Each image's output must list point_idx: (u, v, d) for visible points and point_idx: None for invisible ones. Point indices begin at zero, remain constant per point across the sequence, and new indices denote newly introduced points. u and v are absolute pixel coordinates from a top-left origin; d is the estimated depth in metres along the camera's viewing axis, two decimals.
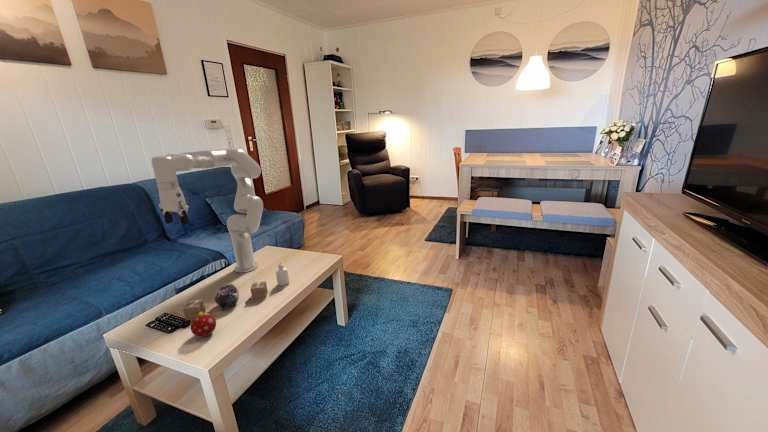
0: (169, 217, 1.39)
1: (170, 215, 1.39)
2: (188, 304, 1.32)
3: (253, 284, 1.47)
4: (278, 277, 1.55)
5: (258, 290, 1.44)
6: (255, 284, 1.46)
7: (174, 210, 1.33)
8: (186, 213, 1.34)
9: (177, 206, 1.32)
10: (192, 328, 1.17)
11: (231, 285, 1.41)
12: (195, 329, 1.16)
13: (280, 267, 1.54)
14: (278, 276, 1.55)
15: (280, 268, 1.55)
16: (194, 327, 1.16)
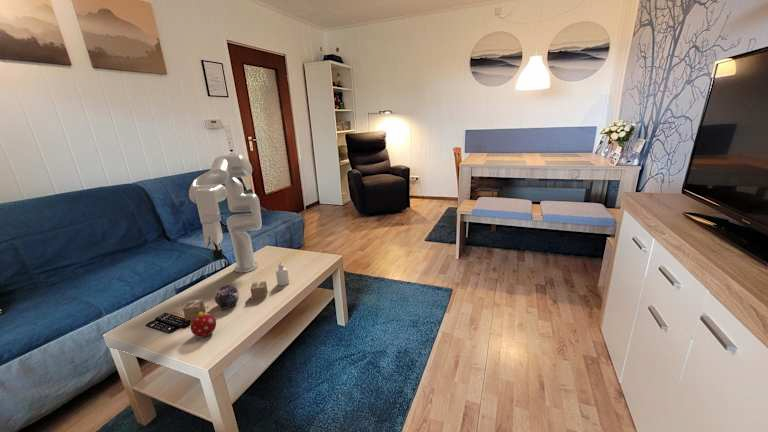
0: None
1: None
2: (188, 304, 1.32)
3: (253, 284, 1.47)
4: (278, 277, 1.55)
5: (258, 290, 1.44)
6: (255, 284, 1.46)
7: (222, 238, 1.36)
8: None
9: None
10: (192, 328, 1.17)
11: (231, 285, 1.41)
12: (195, 329, 1.16)
13: (280, 267, 1.54)
14: (278, 276, 1.55)
15: (280, 268, 1.55)
16: (194, 327, 1.16)
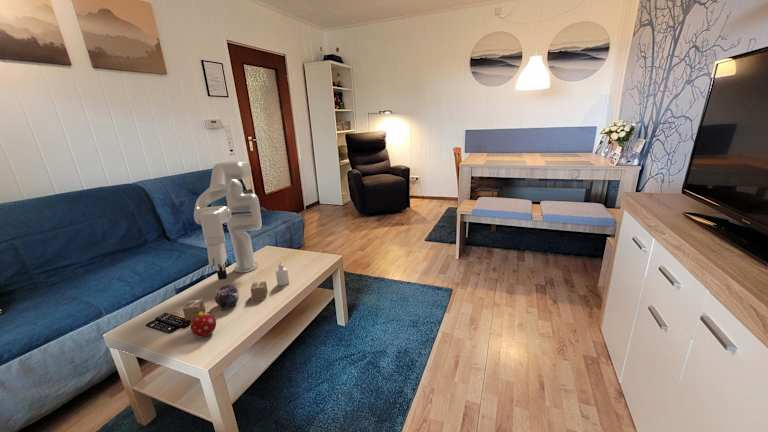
0: None
1: None
2: (188, 304, 1.32)
3: (253, 284, 1.47)
4: (278, 277, 1.55)
5: (258, 290, 1.44)
6: (255, 284, 1.46)
7: (226, 258, 1.38)
8: None
9: None
10: (192, 328, 1.17)
11: (231, 285, 1.41)
12: (195, 329, 1.16)
13: (280, 267, 1.54)
14: (278, 276, 1.55)
15: (280, 268, 1.55)
16: (194, 327, 1.16)
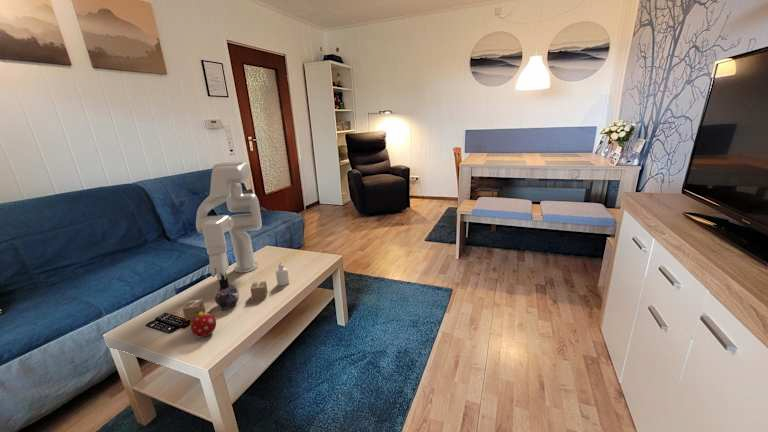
0: None
1: None
2: (188, 304, 1.32)
3: (253, 284, 1.47)
4: (278, 277, 1.55)
5: (258, 290, 1.44)
6: (255, 284, 1.46)
7: (228, 267, 1.39)
8: None
9: None
10: (192, 328, 1.17)
11: (231, 285, 1.41)
12: (195, 329, 1.16)
13: (280, 267, 1.54)
14: (278, 276, 1.55)
15: (280, 268, 1.55)
16: (194, 327, 1.16)
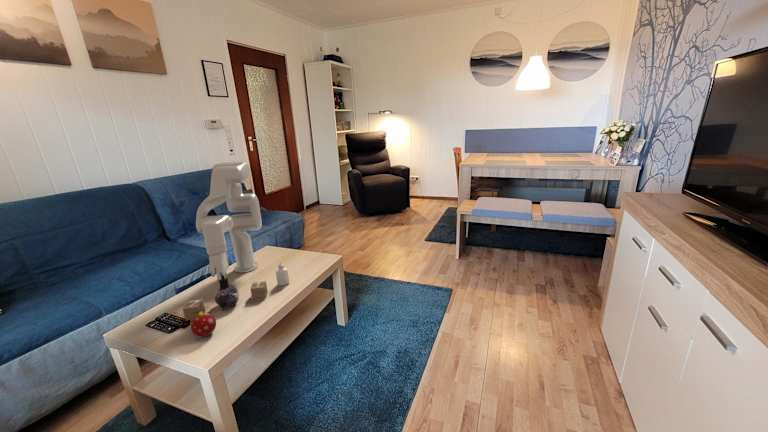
0: None
1: None
2: (188, 304, 1.32)
3: (253, 284, 1.47)
4: (278, 277, 1.55)
5: (258, 290, 1.44)
6: (255, 284, 1.46)
7: (228, 266, 1.39)
8: None
9: None
10: (192, 328, 1.17)
11: (231, 285, 1.40)
12: (195, 329, 1.16)
13: (280, 267, 1.54)
14: (278, 276, 1.55)
15: (280, 268, 1.55)
16: (194, 327, 1.16)
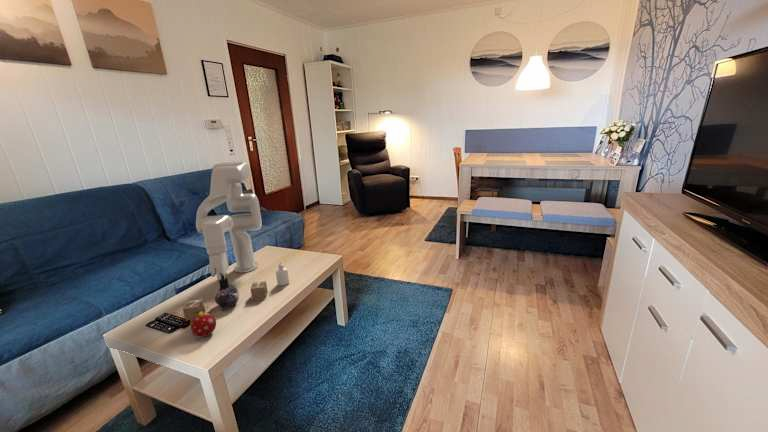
0: None
1: None
2: (188, 304, 1.32)
3: (253, 284, 1.47)
4: (278, 277, 1.55)
5: (258, 290, 1.44)
6: (255, 284, 1.46)
7: (228, 266, 1.39)
8: None
9: None
10: (192, 328, 1.17)
11: (231, 285, 1.40)
12: (195, 329, 1.16)
13: (280, 267, 1.54)
14: (278, 276, 1.55)
15: (280, 268, 1.55)
16: (194, 327, 1.16)
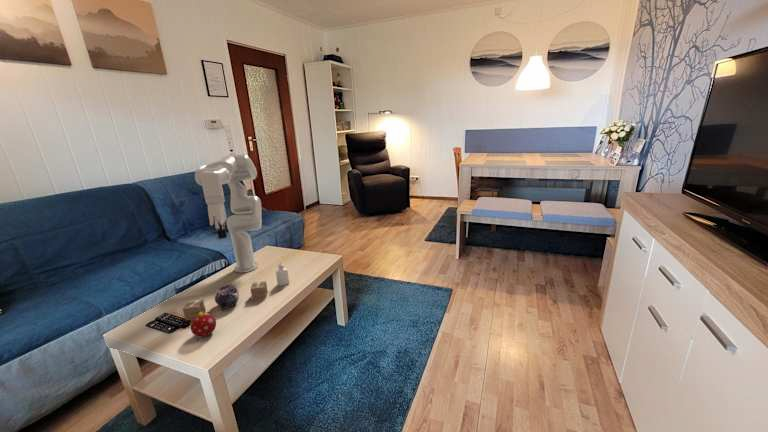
0: None
1: None
2: (188, 304, 1.32)
3: (253, 284, 1.47)
4: (278, 277, 1.55)
5: (258, 290, 1.44)
6: (255, 284, 1.46)
7: (226, 218, 1.44)
8: None
9: None
10: (192, 328, 1.17)
11: (231, 285, 1.41)
12: (195, 329, 1.16)
13: (280, 267, 1.54)
14: (278, 276, 1.55)
15: (280, 268, 1.55)
16: (194, 327, 1.16)
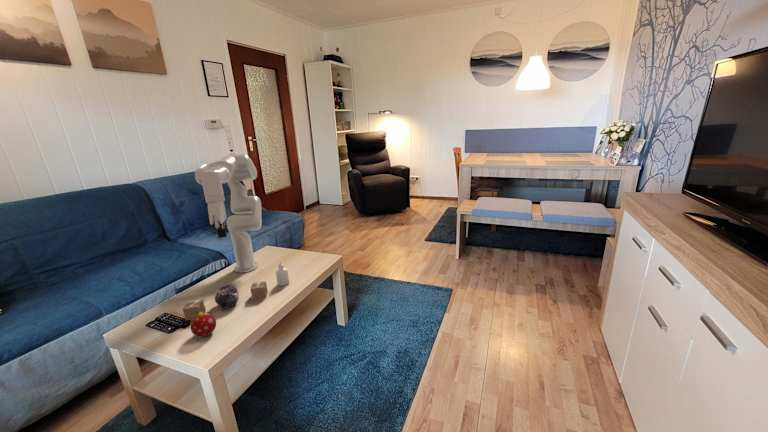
0: None
1: None
2: (188, 304, 1.32)
3: (253, 284, 1.47)
4: (278, 277, 1.55)
5: (258, 290, 1.44)
6: (255, 284, 1.46)
7: (226, 217, 1.44)
8: None
9: None
10: (192, 328, 1.17)
11: (231, 285, 1.41)
12: (195, 329, 1.16)
13: (280, 267, 1.54)
14: (278, 276, 1.55)
15: (280, 268, 1.55)
16: (194, 327, 1.16)
